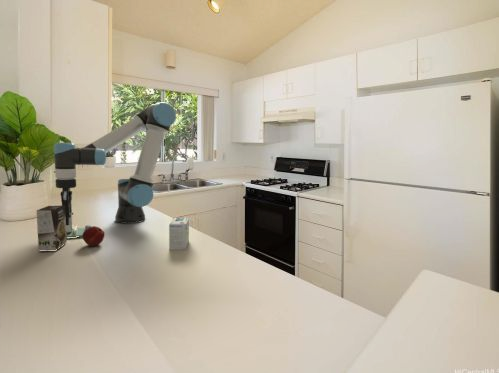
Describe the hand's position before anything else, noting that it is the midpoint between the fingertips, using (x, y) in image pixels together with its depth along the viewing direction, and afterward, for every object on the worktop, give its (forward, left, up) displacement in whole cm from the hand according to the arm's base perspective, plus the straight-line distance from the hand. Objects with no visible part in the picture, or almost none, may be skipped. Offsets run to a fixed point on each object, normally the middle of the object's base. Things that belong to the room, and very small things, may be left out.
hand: (67, 230), depth 124 cm
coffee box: (+3, +16, -2) cm, 16 cm away
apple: (-10, +18, -2) cm, 21 cm away
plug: (0, 0, 0) cm, 0 cm away
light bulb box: (-42, +31, -2) cm, 52 cm away
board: (-3, 0, -2) cm, 4 cm away
